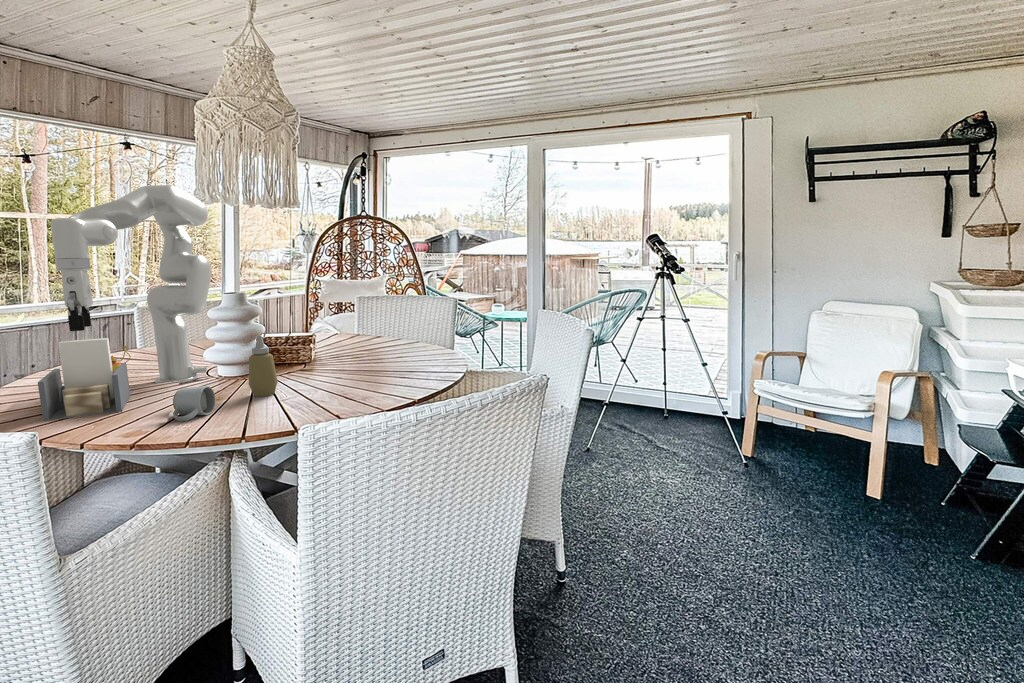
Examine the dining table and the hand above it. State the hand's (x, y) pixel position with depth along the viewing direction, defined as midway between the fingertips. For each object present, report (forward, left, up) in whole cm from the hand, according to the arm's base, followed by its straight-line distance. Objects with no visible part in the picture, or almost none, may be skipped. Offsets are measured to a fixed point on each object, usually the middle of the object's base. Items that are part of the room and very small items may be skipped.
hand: (80, 328), depth 166 cm
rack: (0, +4, -23) cm, 23 cm away
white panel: (0, 0, -21) cm, 21 cm away
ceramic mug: (-26, +20, -23) cm, 40 cm away
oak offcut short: (0, +9, -21) cm, 23 cm away
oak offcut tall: (0, +5, -21) cm, 22 cm away
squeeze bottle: (-44, +6, -23) cm, 50 cm away
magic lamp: (+3, -48, -23) cm, 54 cm away
